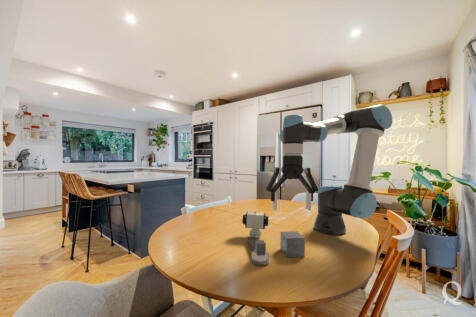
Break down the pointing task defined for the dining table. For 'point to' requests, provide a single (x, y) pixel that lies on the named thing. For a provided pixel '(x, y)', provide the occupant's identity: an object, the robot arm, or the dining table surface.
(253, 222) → the pneumatic valve
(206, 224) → the dining table surface
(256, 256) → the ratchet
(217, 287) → the dining table surface
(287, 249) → the gray cube
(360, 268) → the dining table surface
